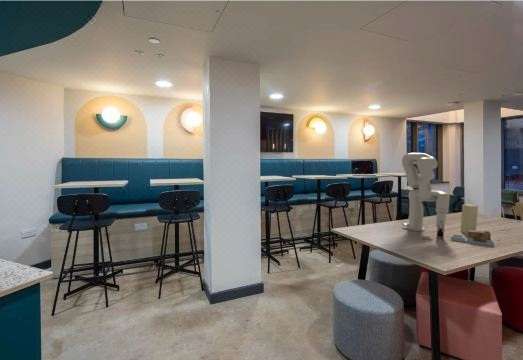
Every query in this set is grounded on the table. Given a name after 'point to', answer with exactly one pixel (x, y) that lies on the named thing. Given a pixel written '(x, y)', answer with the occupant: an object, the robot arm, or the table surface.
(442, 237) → the brown rectangular brick
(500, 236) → the table surface
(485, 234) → the brown tabbed block
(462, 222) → the toy refrigerator
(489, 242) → the jig
